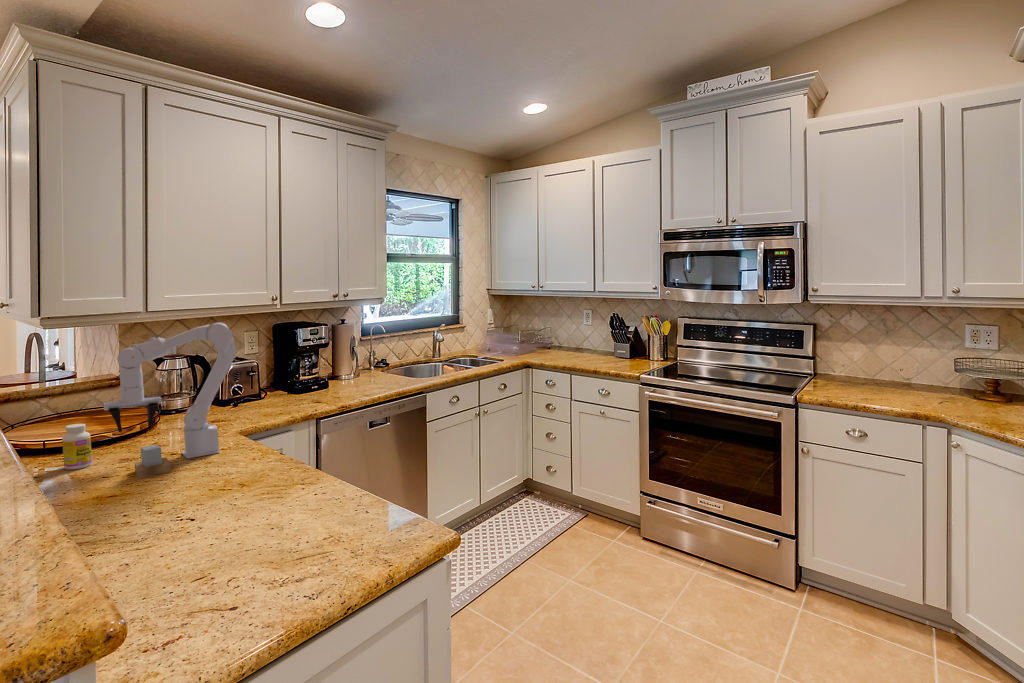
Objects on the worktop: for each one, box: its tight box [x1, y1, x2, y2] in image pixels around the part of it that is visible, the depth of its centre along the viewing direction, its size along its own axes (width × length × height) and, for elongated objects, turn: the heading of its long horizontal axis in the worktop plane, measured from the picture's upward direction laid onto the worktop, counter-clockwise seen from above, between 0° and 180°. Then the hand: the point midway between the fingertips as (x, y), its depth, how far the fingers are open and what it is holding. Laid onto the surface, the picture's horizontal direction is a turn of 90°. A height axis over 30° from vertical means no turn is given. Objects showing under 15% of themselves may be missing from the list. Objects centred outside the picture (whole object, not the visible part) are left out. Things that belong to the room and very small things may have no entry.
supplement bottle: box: [61, 423, 93, 471], centre depth 159 cm, size 7×7×13 cm
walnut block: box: [134, 457, 172, 480], centre depth 156 cm, size 8×8×3 cm
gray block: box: [140, 444, 163, 467], centre depth 156 cm, size 4×4×5 cm
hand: (135, 429), depth 164 cm, fingers open, 7 cm apart
